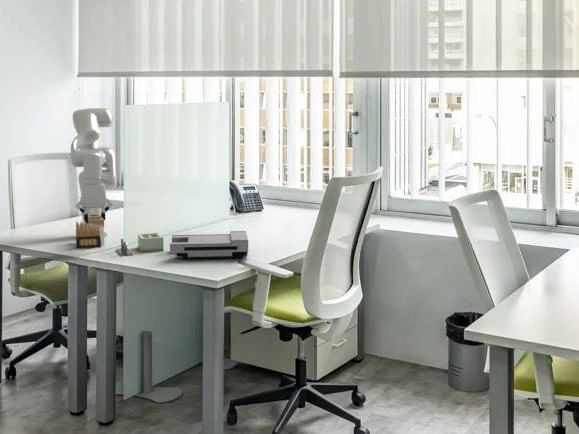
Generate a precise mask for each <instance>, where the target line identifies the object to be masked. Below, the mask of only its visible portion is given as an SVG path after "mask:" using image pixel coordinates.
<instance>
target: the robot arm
mask: <svg viewBox="0 0 579 434" xmlns="http://www.w3.org/2000/svg"><path fill="white" fill-rule="evenodd" d="M72 123H73V126H74V129H75V131H76V134H77V135H76V136H75V138H74V139H73V140H72V141H71V143H70V144H71V145H70V162H71V163H72V165H73V167H76V168H83V170H82V171H80V172H79V174H78V177H77V178H78V184H79V190H80V197H81V198H80V200H79V201H78V202H77V204H76V205H75V208H76V209H78V210H79V212H81V218H82V219H81V221H83V220H84V221H86V224H88V214H100V215H101V216H102V218H103V219H104V221H106V213H107V211H109V210H110V208H111V207H112V206H114V204H113V203H112V202H111V201H110V200H109V199H108V197H107V192H106V191H107V190H108V191H110V190H114V189H116V188H117V186H118V177H117V175H118V173H117V172H118V171H117V160H116V158H117V157H116V154H115V150H114V149H113V148H112V147H108V146H103V147H101V146H99V139H100V137H101V132H100V131H101V130H100V128H110V127H111V126H112V125H113V113H112V111H111V109H109V108H106V107H105V108H104V107H103V108H102V107H101V108H93V107H91V108H89V107H88V108H83V109H78V110H75V111H73V113H72ZM103 168H104V169H103ZM107 236H108V233H107V232H105V231H104V238H106V237H107Z"/></svg>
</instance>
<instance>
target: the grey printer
mask: <svg viewBox="0 0 579 434" xmlns="http://www.w3.org/2000/svg"><path fill="white" fill-rule="evenodd" d="M248 253H249V239H248V235H247V230H245V231H244V230H243V231H242V230H241V231H239V230H238V231H234V230H233V231H230V233H226V234H221V233H220V234H175V235H171V242H170V243H169V254H176V255H175V256H176V258H182V261H211V260H212V261H217V260H218V261H221V260H243V259H244V258H243V257H244V256H245V257H247V256H248Z"/></svg>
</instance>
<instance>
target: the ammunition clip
mask: <svg viewBox="0 0 579 434" xmlns="http://www.w3.org/2000/svg"><path fill="white" fill-rule="evenodd" d="M79 224H80V231H79ZM96 234H97V236H96ZM92 239H93V244H92ZM96 239H97V241H96ZM88 243H89V244H88ZM75 245H76V246H75V249H77V248H78V249H93V248H94V247H98V248H102V246H101V237H100V227H97V230H96V228H95V227H94V228H93V229H91V228H90V227H89V226H88V230H87V224H86V221H85V223H84V230H83V224H82V220H81V221H80V222H79V221H76V224H75ZM94 249H95V248H94Z"/></svg>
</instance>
